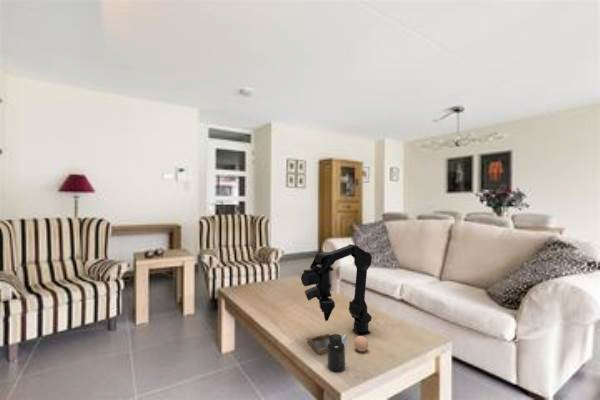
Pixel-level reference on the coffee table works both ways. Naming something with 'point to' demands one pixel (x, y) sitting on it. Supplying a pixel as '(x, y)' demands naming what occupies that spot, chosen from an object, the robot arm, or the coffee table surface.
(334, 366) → the supplement bottle
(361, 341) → the ball
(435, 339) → the coffee table surface
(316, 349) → the walnut tray
